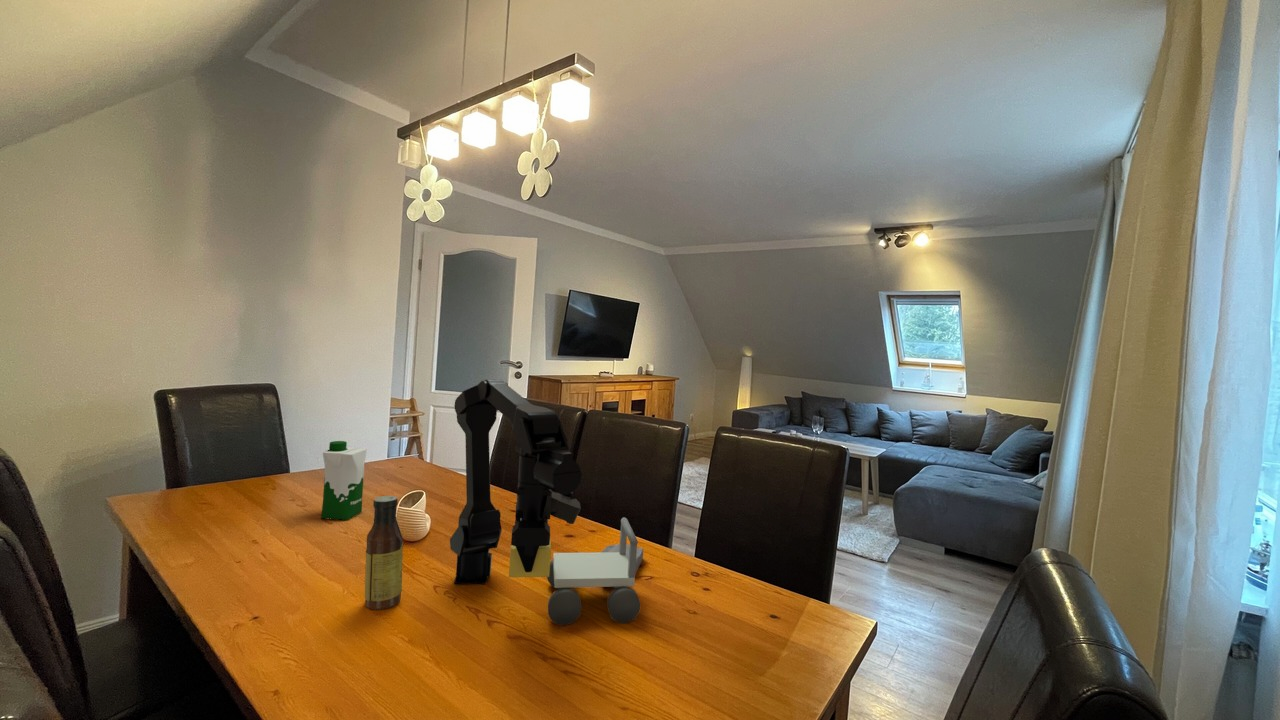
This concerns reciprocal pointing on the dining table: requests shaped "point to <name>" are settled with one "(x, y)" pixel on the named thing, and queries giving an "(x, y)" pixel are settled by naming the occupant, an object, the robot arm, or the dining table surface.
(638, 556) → the stone block
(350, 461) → the milk carton
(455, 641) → the dining table surface
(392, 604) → the sauce bottle
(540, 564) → the chock
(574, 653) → the dining table surface
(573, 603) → the trolley
